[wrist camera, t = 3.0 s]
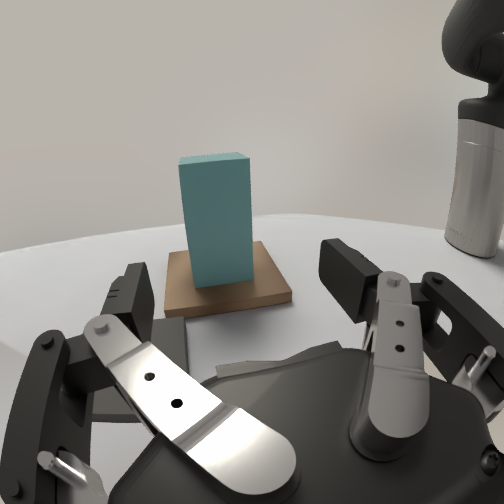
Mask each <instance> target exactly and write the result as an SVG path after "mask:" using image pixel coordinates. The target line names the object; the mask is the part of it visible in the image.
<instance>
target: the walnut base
mask: <svg viewBox="0 0 504 504" xmlns="http://www.w3.org/2000/svg"><path fill="white" fill-rule="evenodd" d="M253 267H254V280H249V281H242V282H236V283H229V284H221V285H214V286H207V287H200V288H195V287H194V281H193V275H192V269H191V262H190V256H189V250H186V251H178V252H171V253H169V259H168V269H167V279H166V290H165V303H164V312H165V316H166V318H173V317H181V316H184V318H190V317H197V316H205V315H212V314H219V313H226V312H232V311H239V310H245V309H251V308H257V307H263V306H269V305H275V304H280V303H286V302H291V301H292V290H291V289H290V287H289V285H288V284H287V282H286V281H285V279H284V277H283V276H282V274H281V273H280V271H279V269H278V268H277V266H276V265H275V263H274V261H273V260H272V258H271V257H270V255H269V253H268V252H267V250H266V249H265V247H264V245H263V244H262V242H261V241H257V242H253Z"/></svg>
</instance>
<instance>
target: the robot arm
mask: <svg viewBox="0 0 504 504" xmlns="http://www.w3.org/2000/svg"><path fill="white" fill-rule="evenodd" d="M503 32H504V0H457V1H456V3H455V5H454V7H453V9H452V10H451V12H450V14H449V16H448V18H447V20H446V22H445V25H444V29H443V33H442V51H443V54H444V57H445V60H446V61H447V63H448V64H449V65H450V67H451V68H452V69H454V70H455V71H457V72H459V73H461V74H463V75H466V76H469V77H472V78H475V79H478V80H481V81H484V82H487V83H488V87H489V88H488V95H487V96H485V97H482V98H474V99H465V100H462V101H461V102H459V105H458V143H457V156H456V167H455V177H454V185H453V192H452V198H451V204H450V210H449V215H448V221H447V225H446V230H445V235H444V236H445V238H446V239H447V241H448V242H450V243H451V244H452V245H454V246H455V247H457V248H458V249H460V250H462V251H464V252H467V253H469V254H472V255H475V256H479V257H487V258H488V257H493V256H494V255H495V253H496V250H497V247H498V243H499V240H500V235H501V232H502V228H503V224H504V34H503ZM319 277H320V280H321V282H322V283H323V285H324V286H325V287H326V288H327V290H328V291H329V292H330V293H331V294H332V296H333V297H334V298H335V299H336V301H337V302H338V303H339V304H340V306H341V307H342V308H343V309H344V311H345V312H346V313H347V314H348V316H349V317H350V318H351V319H352V321H353V322H354V323H355V324H356V323H360V322H363V321H366V322H367V323H366V327H365V331H364V338H363V344H362V349H361V350H360V349H353V348H342V347H341V345H340V344H339V342H338V341H334V342H330V343H326V344H323V345H319V346H315V347H311V348H309V349H307V350H304V351H302V352H300V353H298V354H296V355H294V356H292V357H290V358H288V359H285V360H282V361H245V362H239V363H233V364H226V365H220V366H216V370H217V376H214V377H212V378H209V379H207V380H205V381H204V382H202V383H200V384H198V383H197V382H196V381H194V380H193V379H192V378H191V377H189V376H188V375H187V374H186V373H185V372H183V371H182V370H181V369H180V368H179V367H177V366H176V365H175V364H174V363H173V362H172V361H171V360H169V359H168V358H167V357H166V356H165V355H164V354H163V353H162V352H160V351H159V350H158V349H157V348H156V347H155V346H154V345H153V344H152V343H151V334H152V324H153V315H154V306H155V303H154V295H153V290H152V287H151V283H150V278H149V274H148V270H147V266H146V264H145V262H142V263H134V264H128V266H127V269H126V272H125V274H124V276H119V277H118V278H117V279H116V280H115V281H114V282H113V283H112V284H111V287H110V289H109V292H108V295H107V298H106V300H105V303H104V305H103V308H102V311H101V314H100V315H99V316H97V317H95V318H93V319H91V320H90V321H89V322H88V323H87V324H86V326H85V328H84V334H82V335H79V336H76V337H72V338H69V339H65V337H64V335H63V333H62V332H61V331H59V330H49V331H46V332H44V333H42V334H41V335H40V336H39V337H38V338H37V339H36V340H35V342H34V344H33V346H32V349H31V351H30V354H29V356H28V359H27V362H26V364H25V367H24V370H23V373H22V375H21V379H20V381H19V384H18V387H17V390H16V394H15V397H14V400H13V404H12V408H11V412H10V415H9V420H8V423H7V428H6V433H5V438H4V443H3V448H2V455H1V461H0V495H1V498H2V499H3V501H4V503H5V504H504V454H503V453H501V452H499V450H497V448H496V447H495V445H494V443H493V441H492V438H491V436H490V433H489V430H488V426H487V423H489V422H491V421H492V420H493V419H494V418H495V417H496V416H497V414H498V413H499V412H500V411H501V410H502V409H503V408H504V328H503V327H502V326H501V325H500V324H499V323H498V322H497V321H495V320H494V319H493V318H492V317H491V316H490V315H489V314H488V313H487V312H486V311H485V310H484V309H483V308H482V307H480V306H479V305H478V304H477V303H476V302H475V301H474V300H473V299H472V298H470V297H469V296H468V295H467V294H466V293H465V292H463V291H462V290H461V289H460V288H459V287H458V286H456V285H455V284H454V283H453V282H452V281H450V280H449V279H448V278H447V277H445V276H444V275H442V274H440V273H436V272H426V273H425V274H424V275H423V278H422V281H421V283H409V280H408V279H407V278H406V277H405V276H403V275H402V274H399V273H396V272H391V271H387V272H383V271H381V270H380V269H379V268H378V267H377V266H376V265H374V264H373V263H372V262H371V261H369V260H368V259H367V258H366V257H364V255H362V254H361V253H360V252H359V251H357V250H355V249H353V248H350V247H348V246H347V245H346V244H345V243H344V242H342V241H341V240H340V239H338V238H336V239H327V240H323V241H322V243H321V249H320V260H319ZM441 310H442V311H443V312H444V313H445V314H446V315H447V316H448V317H449V318H450V320H451V322H452V330H451V332H450V335H448V334H447V333H446V332H445V331H444V330H443V329H442V328H441V327H440V326H439V324H438V323H437V319H438V317H439V315H440V312H441ZM423 351H424V352H425V353H426V355H427V356H428V357H429V358H430V360H431V361H432V362H433V364H434V365H435V366H436V367H437V369H438V370H439V371H440V373H441V374H442V375H443V377H444V378H445V379H446V381H447V382H445V381H443V380H440V379H437V378H435V377H432V376H430V375H428V374H427V373H425V371H424V356H423ZM111 386H113V387H114V388H115V390H116V391H117V392H118V394H119V395H120V396H121V398H122V399H123V400H124V401H125V403H126V404H127V405H128V406H129V408H130V409H131V410H132V411H133V413H134V414H135V415H136V416H137V417H138V419H139V420H140V421H141V422H142V424H143V425H144V426H145V427H146V429H147V430H148V431H149V432H150V433H151V434H152V435H153V437H154V438H153V439H152V441H151V442H150V443H149V444H148V446H147V447H146V448H145V449H144V450H143V452H142V453H141V454H140V456H139V457H138V458H137V459H136V460H135V462H134V463H133V464H132V465H131V467H130V468H129V469H128V470H127V471H126V472H125V474H124V475H123V476H122V477H121V478H120V480H119V481H118V482H117V483H116V484H115V486H114V487H113V489H112V491H111V492H110V495H109V497H108V496H107V494H106V493H105V491H104V488H103V484H102V480H101V478H100V476H99V474H98V473H97V472H96V471H95V470H93V469H92V468H91V467H90V441H91V424H92V413H93V402H94V394H95V391H98V390H101V389H105V388H108V387H111Z"/></svg>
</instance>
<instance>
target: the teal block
mask: <svg viewBox="0 0 504 504" xmlns="http://www.w3.org/2000/svg"><path fill="white" fill-rule="evenodd" d="M178 166H179V176H180V186H181V194H182V203H183V212H184V220H185V228H186V235H187V242H188V249H189V256H190V262H191V269H192V275H193V281H194V287H195V288H200V287H207V286H214V285H221V284H229V283H236V282H242V281H249V280H254V267H253V239H252V212H251V187H250V186H251V184H250V159H249V158H248V157H245V156H244V155H242V154H240V153H238V152H236V153H222V154H211V155H202V156H192V157H183V158H180V161H179V165H178Z"/></svg>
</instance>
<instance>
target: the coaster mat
mask: <svg viewBox="0 0 504 504" xmlns="http://www.w3.org/2000/svg"><path fill="white" fill-rule="evenodd" d="M83 334H84V331H83ZM151 343H152V344H153V345H154V346H155V347H156V348H157V349H158V350H159V351H160V352H162V353H163V354H164V355H165V356H166V357H167V358H168V359H169V360H171V361H172V362H173V363H174V364H175V365H176V366H177V367H179V368H180V369H181V370H182V371H183V372H185V373H186V374H187V375H188V376H189V368H188V354H187V338H186V325H185V321H184V316H181V317H173V318H164V319H155V320H153V324H152V334H151ZM92 422H111V423H142V422H141V421H140V420H139V419H138V417H137V416H136V415H135V414H134V413H133V411H132V410H131V409H130V408H129V406H128V405H127V404H126V403H125V401H124V400H123V399H122V398H121V396H120V395H119V394H118V392H117V391H116V390H115V388H114V387H113V386H111V387H108V388H105V389H101V390H98V391H95V394H94V402H93V413H92Z"/></svg>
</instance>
